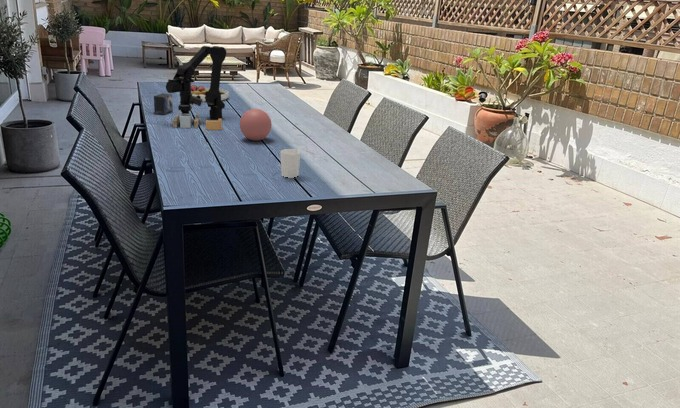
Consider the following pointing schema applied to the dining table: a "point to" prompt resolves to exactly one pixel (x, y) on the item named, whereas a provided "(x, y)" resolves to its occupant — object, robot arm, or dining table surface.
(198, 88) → the bowl
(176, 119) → the channel
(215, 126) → the bar
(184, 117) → the plug block
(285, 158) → the white cup
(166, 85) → the robot arm
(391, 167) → the dining table surface
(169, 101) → the small box
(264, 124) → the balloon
